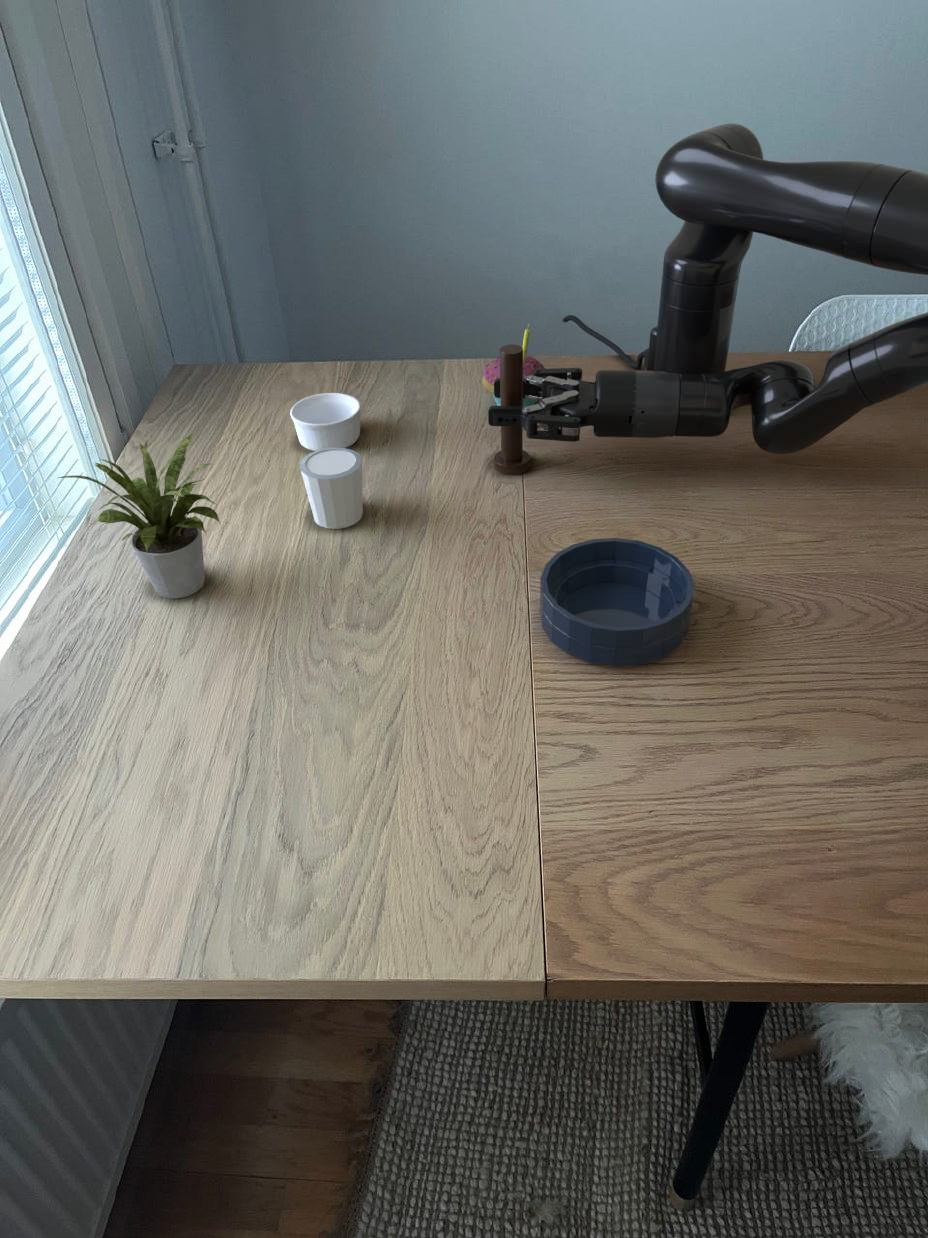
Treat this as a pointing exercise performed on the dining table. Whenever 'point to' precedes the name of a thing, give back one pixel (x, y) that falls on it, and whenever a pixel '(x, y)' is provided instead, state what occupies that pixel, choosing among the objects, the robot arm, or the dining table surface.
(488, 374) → the cupcake
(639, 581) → the bowl
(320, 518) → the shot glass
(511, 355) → the stirrer
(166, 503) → the house plant
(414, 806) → the dining table surface
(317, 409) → the ramekin
